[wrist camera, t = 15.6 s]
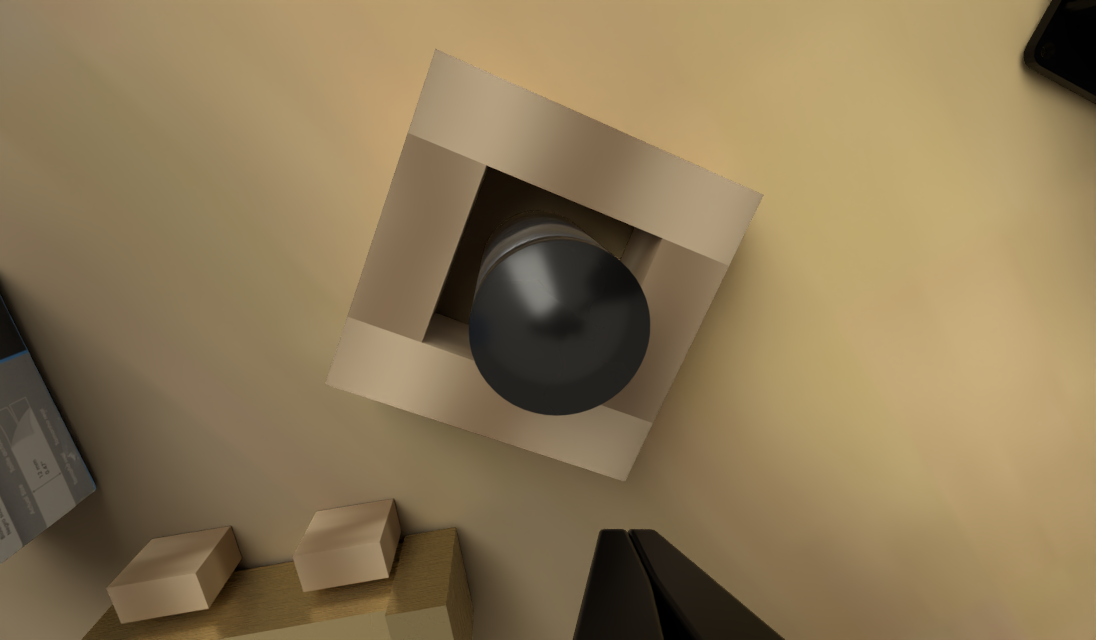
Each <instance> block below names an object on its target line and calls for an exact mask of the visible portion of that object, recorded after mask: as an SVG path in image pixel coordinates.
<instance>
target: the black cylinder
mask: <svg viewBox="0 0 1096 640" xmlns="http://www.w3.org/2000/svg"><path fill="white" fill-rule="evenodd" d="M649 338H650V313H649V308H648V304H647V300H646V297H645V295H644V292H643V290H642V288H641V286H640V284H639V283H638V281H637V279H636V278H635V276H634V275H633V274H632V273H631V271H630V270H629V269H628V268H627V267H626V266H625V265H624V264H623V263H622V262H621V261H620V260H618V259H617V258H616V257H615V256H613V255H612V254H611V253H610V252H608V251H607V250H606V249H605V248H604V247H602V246H601V245H600V244H599V243H597V242H596V241H595V240H594V239H592V238H591V237H590V236H589V235H587V234H586V233H585V232H584V231H583V230H581V229H580V228H579V227H578V226H576V225H575V224H574V223H573V222H571V221H570V220H568V219H567V218H565V217H563V216H561V215H559V214H556V213H553V212H549V211H541V210H536V211H527V212H523V213H520V214H517V215H515V216H512V217H510V218H509V219H507V220H506V221H504V222H503V223H502V224H500V225H499V226H498V227H497V228H496V229H495V231H494V232H493V233H492V235H491V236H490V237H489V239H488V241H487V243H486V245H485V248H484V251H483V255H482V260H481V265H480V270H479V275H478V280H477V284H476V289H475V294H474V299H473V304H472V309H471V314H470V319H469V343H470V348H471V352H472V356H473V358H474V361H475V364H476V366H477V368H478V370H479V372H480V374H481V375H482V377H483V378H484V379H485V381H486V382H487V384H488V385H489V386H490V387H491V388H492V389H493V390H494V391H495V392H496V393H497V394H498V395H500V396H501V397H502V398H503V399H505V400H506V401H508V402H510V403H511V404H513V405H515V406H517V407H519V408H521V409H523V410H527V411H530V412H533V413H537V414H543V415H553V416H561V415H571V414H577V413H581V412H584V411H588V410H591V409H593V408H595V407H597V406H600V405H602V404H603V403H605V402H607V401H608V400H610V399H611V398H613V397H614V396H615V395H617V394H618V393H619V392H620V391H621V390H622V389H623V388H624V387H625V386H626V385H627V384H628V383H629V382H630V381H631V379H632V378H633V377H634V376H635V374H636V372H637V371H638V369H639V367H640V366H641V364H642V361H643V359H644V357H645V354H646V351H647V347H648V344H649Z"/></svg>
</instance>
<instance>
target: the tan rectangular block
mask: <svg viewBox="0 0 1096 640" xmlns="http://www.w3.org/2000/svg"><path fill="white" fill-rule="evenodd" d="M473 612H474V610H473V606H472V601H471V596H470V592H469V587H468V582H467V578H466V573H465V568H464V564H463V559H462V554H461V550H460V545H459V540H458V536H457V531H456V527H454V528H448V529H443V530H437V531H431V532H425V533H419V534H413V535H407V536H405V540H404V543H399V544H398V545H397V549H396V553H395V556H394V560H393V564H392V568H391V571H390V575H389V577H388V578H383V579H377V580H371V581H365V582H359V583H354V584H348V585H342V586H336V587H331V588H325V589H319V590H313V591H307V592H303V589H302V585H301V582H300V579H299V576H298V573H297V569H296V566H295V563H294V562H288V563H282V564H276V565H270V566H264V567H258V568H252V569H247V570H241V571H235V572H232V574H231V575H230V577H229V579H228V580H227V582H226V583H225V585H224V586H223V588H222V589H221V591H220V592H219V594H218V595H217V597H216V598H215V600H214V601H213V603H212V604H211V606H210V607H209V609H203V610H197V611H191V612H186V613H180V614H174V615H168V616H163V617H157V618H151V619H145V620H139V621H134V622H128V623H122V624H121V622H120V619H119V617H118V615H117V613H116V610H115V608H114V606H113V605H112V606H111V607H110V608H109V609H108V610H107V611H106V613H105V614H104V615H103V616H102V617H101V618H100V619H99V620H98V622H97V623H96V624H95V625H94V626H93V627H92V628H91V629H90V631H89V632H88V633H87V634H86V635H85V636H84V637H83V639H82V640H472V628H473Z"/></svg>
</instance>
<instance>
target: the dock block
mask: <svg viewBox="0 0 1096 640" xmlns="http://www.w3.org/2000/svg"><path fill="white" fill-rule="evenodd" d="M488 167H492V168H494V169H497V170H499V171H501V172H504V173H506V174H509V175H511V176H513V177H516V178H518V179H521V180H523V181H526V182H528V183H530V184H533V185H535V186H538V187H540V188H542V189H545V190H547V191H550V192H552V193H554V194H557V195H559V196H562V197H564V198H567V199H569V200H571V201H574V202H576V203H579V204H581V205H583V206H586V207H588V208H591V209H593V210H595V211H598V212H600V213H603V214H605V215H608V216H610V217H612V218H615V219H617V220H620V221H622V222H624V223H627V224H629V225H632V226H634V227H635V228H634V230H633V232H632V235H631V237H630V239H629V242H628V244H627V246H626V248H625V251H624V253H623V255H622V258H621V260H620V261H621V262H622V263H623V264H624V265H625V266H626V267H627V268H628V269H629V270H630V271H631V273H632V274H633V275H634V276H635V278H636V279H637V281H638V283H639V284H640V286H641V288H642V290H643V292H644V295H645V297H646V300H647V304H648V308H649V313H650V338H649V344H648V347H647V351H646V354H645V357H644V359H643V361H642V364H641V366H640V367H639V369H638V371H637V372H636V374H635V376H634V377H633V378H632V379H631V381H630V382H629V383H628V384H627V385H626V386H625V387H624V388H623V389H622V390H621V391H620V392H619V393H618V394H617V395H615V396H614V397H613V398H611V399H610V400H608V401H607V402H605V403H603V404H602V405H600V406H597V407H595V408H593V409H591V410H588V411H584V412H581V413H577V414H571V415H561V416H553V415H543V414H537V413H533V412H530V411H527V410H523V409H521V408H519V407H517V406H515V405H513V404H511V403H510V402H508V401H506V400H505V399H503V398H502V397H501V396H500V395H498V394H497V393H496V392H495V391H494V390H493V389H492V388H491V387H490V386H489V385H488V384H487V382H486V381H485V379H484V378H483V377H482V375H481V374H480V372H479V370H478V368H477V366H476V364H475V361H474V358H473V356H472V352H471V348H470V343H469V325H468V324H465V323H462V322H459V321H456V320H454V319H451V318H448V317H445V316H443V315H440V314H437V313H435V311H436V309H437V306H438V303H439V300H440V298H441V295H442V292H443V289H444V287H445V284H446V281H447V279H448V276H449V273H450V270H451V268H452V265H453V262H454V259H455V257H456V254H457V251H458V249H459V246H460V243H461V240H462V238H463V235H464V232H465V229H466V227H467V224H468V221H469V219H470V216H471V213H472V210H473V208H474V205H475V202H476V199H477V197H478V194H479V191H480V189H481V186H482V183H483V180H484V178H485V175H486V172H487V169H488ZM762 197H763V194H760V193H758V192H756V191H754V190H751V189H749V188H747V187H745V186H742V185H740V184H738V183H736V182H733V181H731V180H729V179H727V178H724V177H722V176H720V175H718V174H715V173H713V172H711V171H709V170H707V169H704V168H702V167H700V166H698V165H695V164H693V163H691V162H689V161H686V160H684V159H682V158H680V157H677V156H675V155H673V154H671V153H668V152H666V151H664V150H662V149H659V148H657V147H655V146H653V145H650V144H648V143H646V142H644V141H641V140H639V139H637V138H635V137H632V136H630V135H628V134H626V133H623V132H621V131H619V130H617V129H614V128H612V127H610V126H608V125H605V124H603V123H601V122H599V121H597V120H594V119H592V118H590V117H588V116H585V115H583V114H581V113H579V112H576V111H574V110H572V109H570V108H567V107H565V106H563V105H561V104H558V103H556V102H554V101H552V100H549V99H547V98H545V97H543V96H540V95H538V94H536V93H534V92H531V91H529V90H527V89H525V88H522V87H520V86H518V85H516V84H513V83H511V82H509V81H507V80H504V79H502V78H500V77H498V76H495V75H493V74H491V73H489V72H486V71H484V70H482V69H480V68H478V67H475V66H473V65H471V64H469V63H466V62H464V61H462V60H460V59H457V58H455V57H453V56H451V55H448V54H446V53H444V52H442V51H439V50H437V49H435V52H434V55H433V58H432V61H431V64H430V67H429V70H428V73H427V76H426V79H425V82H424V85H423V88H422V91H421V94H420V97H419V100H418V103H417V107H416V110H415V113H414V116H413V119H412V122H411V125H410V128H409V131H408V134H407V137H406V140H405V143H404V146H403V149H402V152H401V155H400V158H399V161H398V164H397V167H396V170H395V173H394V176H393V179H392V182H391V186H390V189H389V192H388V195H387V198H386V201H385V204H384V207H383V210H382V213H381V216H380V219H379V222H378V225H377V228H376V231H375V234H374V237H373V240H372V243H371V246H370V249H369V252H368V255H367V258H366V261H365V264H364V268H363V271H362V274H361V277H360V280H359V283H358V286H357V289H356V292H355V295H354V298H353V301H352V304H351V307H350V310H349V313H348V316H347V319H346V322H345V325H344V328H343V331H342V334H341V337H340V340H339V343H338V347H337V350H336V353H335V356H334V359H333V362H332V365H331V368H330V371H329V374H328V377H327V380H326V383H325V384H326V385H329V386H332V387H335V388H338V389H341V390H344V391H347V392H350V393H353V394H357V395H360V396H363V397H366V398H369V399H372V400H375V401H378V402H381V403H384V404H387V405H390V406H393V407H396V408H400V409H403V410H406V411H409V412H412V413H415V414H418V415H421V416H424V417H427V418H430V419H433V420H436V421H440V422H443V423H446V424H449V425H452V426H455V427H458V428H461V429H464V430H467V431H470V432H473V433H476V434H479V435H483V436H486V437H489V438H492V439H495V440H498V441H501V442H504V443H507V444H510V445H513V446H516V447H519V448H522V449H526V450H529V451H532V452H535V453H538V454H541V455H544V456H547V457H550V458H553V459H556V460H559V461H562V462H566V463H569V464H572V465H575V466H578V467H581V468H584V469H587V470H590V471H593V472H596V473H599V474H602V475H605V476H609V477H612V478H615V479H618V480H621V481H624V482H625V480H626V478H627V476H628V474H629V472H630V470H631V468H632V466H633V464H634V462H635V460H636V458H637V456H638V454H639V451H640V449H641V447H642V445H643V443H644V441H645V439H646V437H647V435H648V433H649V431H650V429H651V427H652V425H653V423H654V420H655V418H656V416H657V414H658V412H659V410H660V408H661V406H662V404H663V402H664V400H665V398H666V396H667V394H668V392H669V389H670V387H671V385H672V383H673V381H674V379H675V377H676V375H677V373H678V371H679V369H680V367H681V365H682V363H683V361H684V358H685V356H686V354H687V352H688V350H689V348H690V346H691V344H692V342H693V340H694V338H695V336H696V334H697V332H698V329H699V327H700V325H701V323H702V321H703V319H704V317H705V315H706V313H707V311H708V309H709V307H710V305H711V303H712V301H713V298H714V296H715V294H716V292H717V290H718V288H719V286H720V284H721V282H722V280H723V278H724V276H725V274H726V272H727V270H728V267H729V265H730V263H731V261H732V259H733V257H734V255H735V253H736V251H737V249H738V247H739V245H740V243H741V241H742V239H743V236H744V234H745V232H746V230H747V228H748V226H749V224H750V222H751V220H752V218H753V216H754V214H755V212H756V210H757V208H758V205H759V203H760V201H761V199H762Z"/></svg>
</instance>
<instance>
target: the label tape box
mask: <svg viewBox="0 0 1096 640" xmlns="http://www.w3.org/2000/svg"><path fill="white" fill-rule="evenodd" d="M95 490H96V485H95V483H94V481H93V479H92V477H91V475H90V473H89V471H88V469H87V467H86V465H85V463H84V461H83V460H82V458H81V456H80V454H79V452H78V450H77V448H76V446H75V444H74V442H73V440H72V438H71V436H70V434H69V432H68V430H67V428H66V426H65V424H64V422H63V420H62V418H61V416H60V414H59V412H58V410H57V408H56V406H55V404H54V402H53V400H52V398H51V396H50V394H49V392H48V390H47V388H46V386H45V384H44V382H43V380H42V378H41V376H40V374H39V372H38V370H37V368H36V366H35V364H34V362H33V360H32V358H31V355H30V353H29V351H28V349H27V348H26V346H25V344H24V342H23V340H22V338H21V336H20V334H19V332H18V330H17V328H16V326H15V324H14V322H13V320H12V318H11V316H10V314H9V312H8V310H7V308H6V306H5V304H4V301H3V299H2V297H1V295H0V564H1V563H3V562H4V561H5V560H7V559H8V558H9V557H10V556H12V555H13V554H15V553H16V552H17V551H18V550H20V549H21V548H22V547H23V546H25V545H26V544H27V543H29V542H30V541H31V540H33V539H34V538H35V537H37V536H38V535H39V534H40V533H42V532H43V531H44V530H46V529H47V528H48V527H50V526H51V525H52V524H54V523H55V522H56V521H58V520H59V519H60V518H61V517H63V516H64V515H65V514H67V513H68V512H69V511H71V510H72V509H73V508H74V507H75V506H76V505H78V504H79V503H80V502H81V501H82V500H84V499H85V498H86V497H88V496H89V495H90V494H92V493H93V492H94V491H95Z"/></svg>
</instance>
